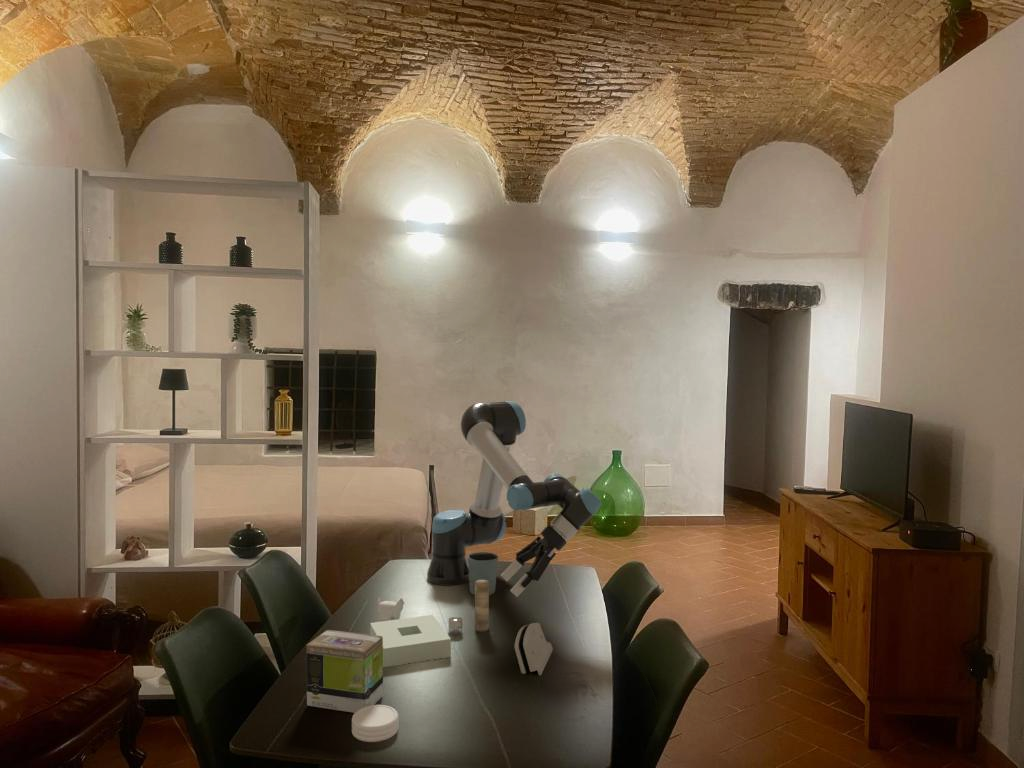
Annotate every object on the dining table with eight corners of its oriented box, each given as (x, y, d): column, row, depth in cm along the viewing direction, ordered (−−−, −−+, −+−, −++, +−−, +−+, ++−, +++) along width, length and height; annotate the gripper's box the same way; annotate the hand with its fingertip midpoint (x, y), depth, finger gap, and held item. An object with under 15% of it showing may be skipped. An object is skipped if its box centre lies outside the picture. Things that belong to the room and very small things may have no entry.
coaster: (401, 718, 165) (401, 703, 165) (395, 743, 155) (395, 727, 155) (356, 718, 165) (356, 703, 165) (347, 743, 155) (347, 727, 155)
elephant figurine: (370, 626, 217) (370, 602, 216) (383, 614, 226) (383, 591, 226) (394, 628, 215) (394, 604, 215) (407, 616, 224) (407, 593, 224)
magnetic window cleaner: (540, 676, 186) (528, 638, 187) (523, 679, 188) (510, 642, 188) (553, 648, 203) (541, 614, 203) (537, 652, 204) (525, 618, 204)
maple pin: (472, 627, 217) (473, 580, 216) (485, 625, 218) (486, 579, 217) (477, 632, 213) (477, 585, 212) (490, 630, 215) (490, 583, 214)
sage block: (370, 640, 207) (370, 622, 206) (432, 631, 213) (432, 614, 213) (383, 667, 190) (383, 648, 190) (450, 657, 197) (450, 638, 196)
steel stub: (446, 631, 214) (446, 617, 214) (459, 629, 215) (460, 616, 215) (450, 636, 210) (450, 622, 210) (464, 634, 212) (464, 621, 211)
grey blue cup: (463, 594, 244) (463, 558, 243) (473, 584, 254) (474, 550, 253) (492, 598, 241) (492, 562, 240) (501, 588, 251) (502, 553, 250)
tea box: (384, 695, 175) (384, 635, 174) (364, 716, 166) (364, 652, 165) (327, 686, 179) (327, 627, 178) (305, 706, 170) (304, 644, 169)
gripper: (579, 553, 206) (527, 609, 204) (555, 530, 231) (508, 580, 228) (561, 535, 205) (508, 592, 203) (539, 514, 229) (491, 564, 227)
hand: (508, 586), depth 216 cm, fingers open, 13 cm apart
